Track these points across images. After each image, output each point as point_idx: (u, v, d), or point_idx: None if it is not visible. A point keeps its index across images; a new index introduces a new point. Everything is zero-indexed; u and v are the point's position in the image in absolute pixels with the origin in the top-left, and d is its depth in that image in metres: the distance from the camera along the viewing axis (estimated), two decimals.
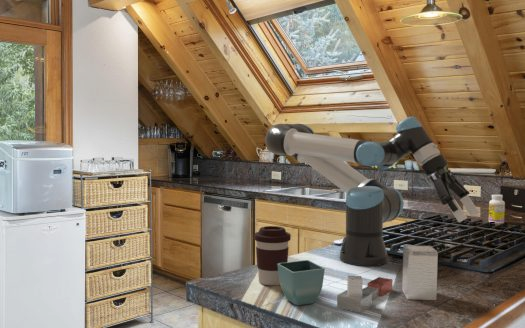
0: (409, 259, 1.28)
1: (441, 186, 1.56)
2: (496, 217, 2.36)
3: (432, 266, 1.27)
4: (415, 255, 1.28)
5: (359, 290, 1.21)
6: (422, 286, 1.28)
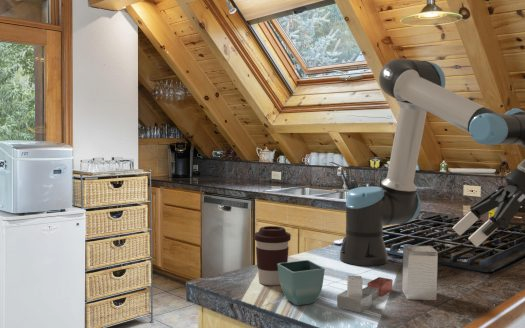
0: (409, 259, 1.28)
1: (514, 212, 1.20)
2: None
3: (432, 266, 1.27)
4: (415, 255, 1.28)
5: (359, 290, 1.21)
6: (422, 286, 1.28)
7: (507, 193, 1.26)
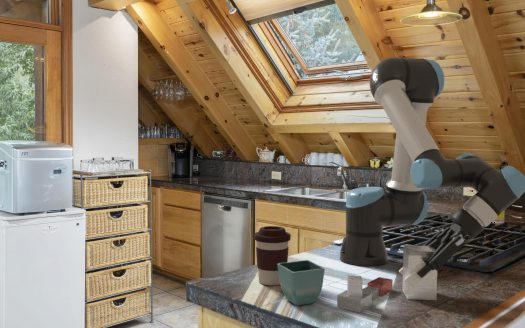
0: (409, 259, 1.28)
1: (449, 256, 1.24)
2: None
3: None
4: (415, 255, 1.28)
5: (359, 290, 1.21)
6: (422, 286, 1.28)
7: (450, 233, 1.28)
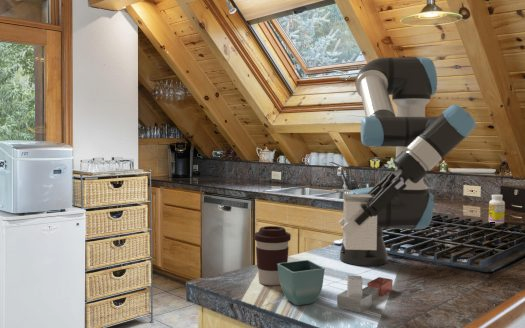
0: (347, 206, 1.18)
1: (387, 200, 1.14)
2: (496, 217, 2.36)
3: None
4: (353, 201, 1.18)
5: (359, 290, 1.21)
6: (361, 235, 1.18)
7: (391, 178, 1.18)
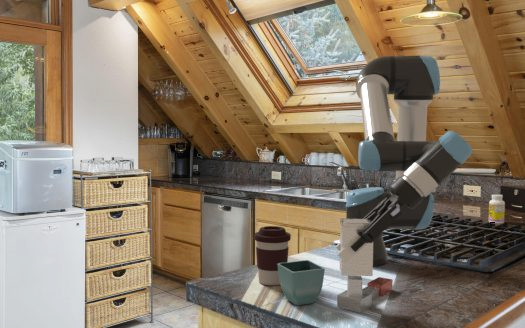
0: (343, 232, 1.18)
1: (383, 227, 1.14)
2: (496, 217, 2.36)
3: None
4: (349, 227, 1.18)
5: (359, 290, 1.21)
6: (357, 261, 1.18)
7: (387, 204, 1.18)
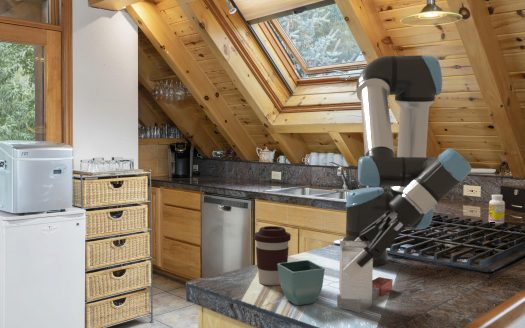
0: (343, 255, 1.19)
1: (389, 242, 1.13)
2: (496, 217, 2.36)
3: None
4: (349, 251, 1.19)
5: None
6: (356, 285, 1.19)
7: (388, 220, 1.18)
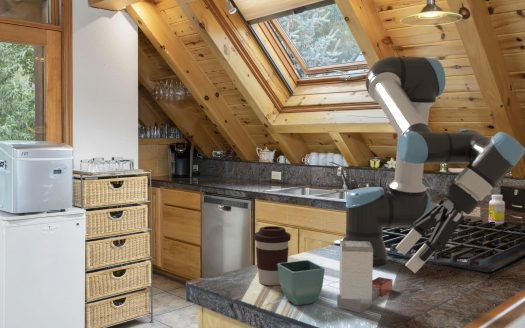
0: (342, 255, 1.19)
1: (449, 234, 1.12)
2: (496, 217, 2.36)
3: (367, 263, 1.18)
4: (349, 251, 1.19)
5: None
6: (356, 285, 1.19)
7: (444, 211, 1.18)
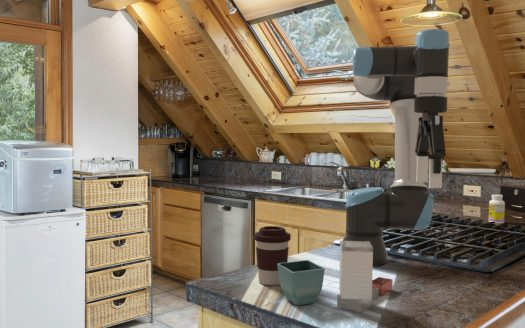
0: (342, 255, 1.19)
1: (441, 137, 1.16)
2: (496, 217, 2.36)
3: (367, 263, 1.18)
4: (349, 251, 1.19)
5: None
6: (356, 285, 1.19)
7: (426, 123, 1.22)
